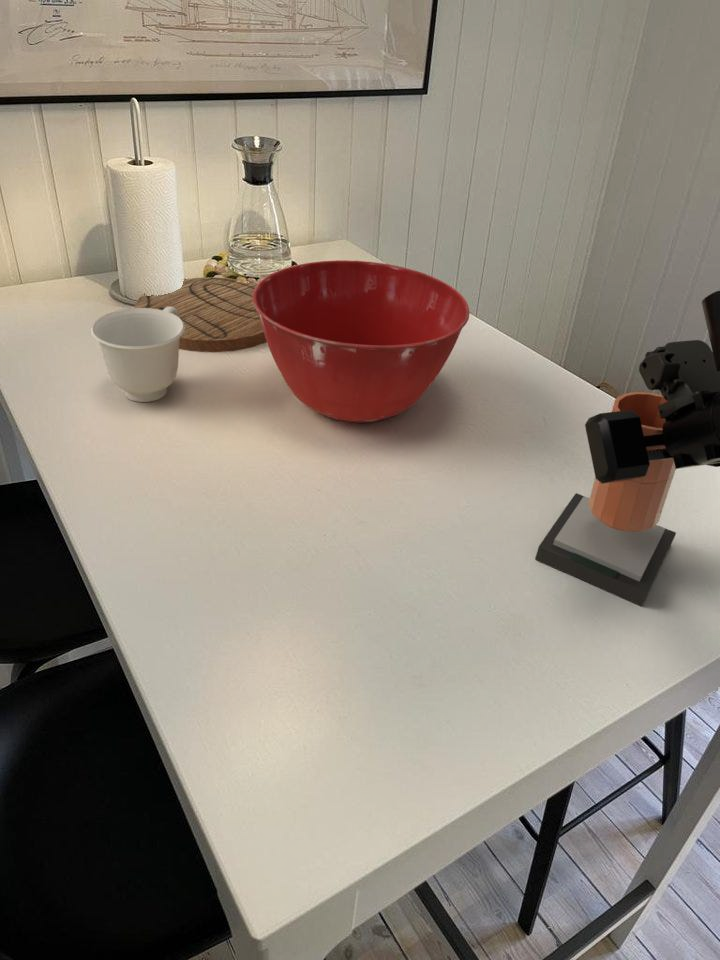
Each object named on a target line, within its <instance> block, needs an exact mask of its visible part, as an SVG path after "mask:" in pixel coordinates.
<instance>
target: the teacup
mask: <svg viewBox="0 0 720 960" xmlns="http://www.w3.org/2000/svg"><path fill="white" fill-rule="evenodd" d="M184 330H185V325H184V323H183V321H182V320H181V319H180V317H179V313H178V311H177V309H175V308H174V307H166V308H165V309H164V310H158V309H151V308H135V307H134V308H124V309H119V310H116V311H112V312H109V313H106V314H104V315H102V316H101V317H99V318H98V319H97V320H95V322H93V324H92V326H91V328H90V333H91V336H92V338H94V340H96V341H97V342H98V345H99V347H100V350H101V353H102V357H103V360H104V364H105V367H106V370H107V374H108V376H109V378H110V380H111V382H112V383H113V384H114V385H115V386H116V387H117V388H119V389H120V390H122V391H123V392H124V395H125V397H126V398H127V399H129V400H131V401H134V402H139V403H150V402H154V401H157V400H160V399H162V398H163V397H165V395H166V394H167V391H168V390H167V388H168V387H169V386H171V385H172V383H173V382H174V381H175V379H176V376H177V373H178V367H179V356H180V355H179V352H180V349H179V341H180V336H181V335H182V334H183V332H184Z"/></svg>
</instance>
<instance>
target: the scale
mask: <svg viewBox="0 0 720 960" xmlns="http://www.w3.org/2000/svg"><path fill="white" fill-rule="evenodd" d="M589 500H590V497H587V496H585V495H582V494H579V493H577V492H575V493H574V495H573V497H572V498H571V499H570V500H569V502H568V503H567V505H566V507H565V508H564V509H563V511H562V512H561V514H560V515H559V516H558V518H557V520H556V521H555V522H554V524H552V527H551V528H550V529H549V530H548V532H547V533H546V535H545V537H544V538H543V540H542V541H541V542H540V544H539V545H538V548H537V551H536V554H535V557H534V559H535V561H537V562H540V563H542V564H545V565H547V566H549V567H551V568H554V569H556V570H557V571H561V572H563V573H565V574H567V575H569V576H572V577H574V578H576V579H578V580H581V581H583V582H585V583H587V584H589V585H592V586H594V587H597V588H599V589H601V590H603V591H606V592H608V593H610V594H612V595H614V596H617V597H619V598H621V599H624V600H626V601H628V602H630V603H632V604H635V605H637V606H640V607H641V608H642V607H643V606H644V605H645V602H646V600H647V597H648V595H649V593H650V592H651V589H652V587H653V585H654V582H655V580H656V579H657V576H658V575H659V572H660V570H661V568H662V566H663V564H664V562H665V560H666V557H667V555H668V553H669V551H670V550H671V549H670V548H671V547H672V544H673V542H674V539H675V537H676V535H677V532H676V531H673V530H671V529H668V528H665V527H663V526H660V525H657V524H656V525H655V526H653V527H652V528H650V529H647V530H644V531H635V532H627V531H621V530H617V529H614V528H611V527H609V526H607V525H605V524H604V523H602V522H601V521H599V520H598V519H597V518H596V517H595V516H594V515H593V514H592V513H591V510H590V508H589Z"/></svg>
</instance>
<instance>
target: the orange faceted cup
mask: <svg viewBox="0 0 720 960" xmlns="http://www.w3.org/2000/svg"><path fill="white" fill-rule="evenodd" d="M665 402H668V401H667V400H666V399H665V398H664V397H663V396H662V394H661V393H656V392H655V393H654V392H648V391H631V392H628V393H623V394H621V395H620V396H618V397H616V398H615V399H614V401H613V405H612V408H611V412H617V411H626V410H632V411H633V412H635V413H636V414H637V415H638V416H639V417H640V421H641V425H642V430H643V435H644V436H649V435H657V434H662V428H663V423H664V422H666V421H665V418H664V419H661V418H660V414H659V409H658V405H660V404H663V403H665ZM662 448H663V449H664V448H666V447H665V446H662V447H654V448H647V450H649V451H650V450H655V449H656V450H657V449H662ZM649 464H650V465H649V468H648V471H647V473H646V476H644V477H640V478H636V479H630V480H625V481H618V482H611V483H604V484H602V483H601V482H599V481H598V480H597V479H596V478H595V477H594V481H593V483H592V487H591V492H590V496H589V498H590V500H589V508H590V510H591V513H592V514H593V515H594V516H595V517H596V518H597V519H598V520H599V521H601V522H602V523H604V524H605V525H607V526H609V527H611V528H614V529H617V530H621V531H627V532H635V531H644V530H647V529H650V528H652V527H653V526H655V525H657V524H658V523H659V522H660V518H661V516H662V514H663V513H662V512H663V509H664V507H665V503H666V500H667V498H668V494H669V491H670V488H671V486H672V482H673V478H674V476H675V473H676V470H677V469H676V468H675V464H674V459H673V458H671V459H664V460H657V461H649Z"/></svg>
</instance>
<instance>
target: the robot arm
mask: <svg viewBox="0 0 720 960" xmlns="http://www.w3.org/2000/svg"><path fill="white" fill-rule="evenodd" d="M701 307H702V311H703V315H704V320H705V324H706V329H707V333H708V337H709V342H710V346H709V344H707V342H705V341H703V340H701V339H694V340H693V339H692V340H681V341H679V340H678V341H670V342H667V343H665V345H663V346H656V347H655V349H654V350H651V351H647V352H646V353H645V355H644V359H643V360H642V361H641V362H640V364H639V366H638V373H640V376H641V379H642V380H643V382H644V384H645V386H646V388H647V390H649V391H656V390H657V391H659V392H660V395H662V396H663V397H664V398H665V399H666V400H667V401H668V402H665V403H663V404H660V405H658V409H659V414H660V418H661V419H664V418H665V421H666V422H664V423H663V428H662V434H657V435H649V436H644V435H643V430H642V425H641V421H640V417H639V416H638V415H637V414H636V413H635V412H633V411H632V410H626V411H617V412H612V411H610V412H601V413H598V414H596V415H595V414H594V415H593V416H591V417H589V418H588V419H587V421H586V422H585V423H584V427H585V433H586V437H587V442H588V447H589V452H590V457H591V462H592V468H593V473H594V479H595V478H596V479H597V480H598V481H599V482H601V483H602V484H604V483H611V482H618V481H625V480H630V479H636V478H640V477H644V476H646V473H647V471H648V468H649V465H650V464H649V461H657V460H664V459H671V458H673V459H674V464H675V468H676V470H679V469H685V468H692V467H700V466H710V467H714V468H717V467H720V290H717V291H714V292H711V293H710V294H709V295H707V296H704V298H703V299H702V300H701ZM662 446H665V447H666V448H664V449H663V448H662V449H657V450H656V449H655V450H650V451H649V450H647V448H654V447H662Z"/></svg>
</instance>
